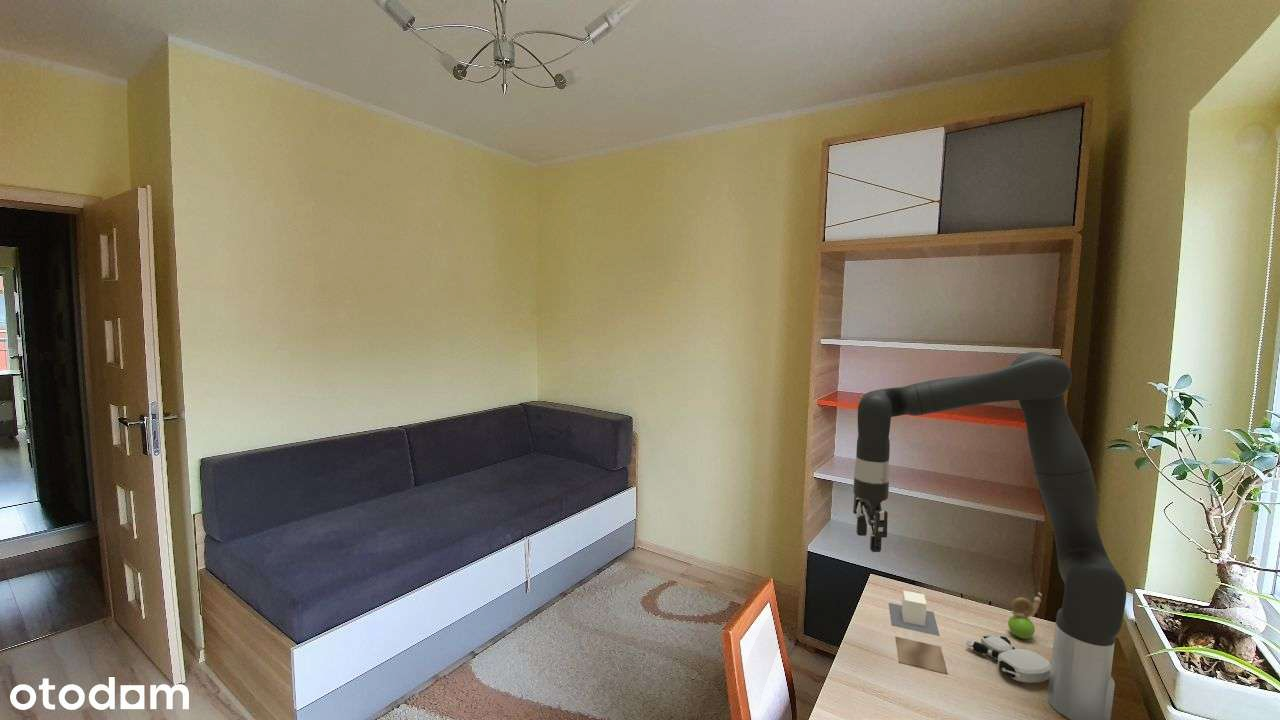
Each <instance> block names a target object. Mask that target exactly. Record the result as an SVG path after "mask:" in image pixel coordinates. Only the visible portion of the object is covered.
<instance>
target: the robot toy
mask: <svg viewBox="0 0 1280 720" xmlns="http://www.w3.org/2000/svg"><path fill="white" fill-rule="evenodd" d="M965 645H966V646H967V647H969V648H973V652H974V651H975V652H977V653H979V654H986V655H988V656H989V657H991V658H993V659H994V660H996V661H997V666H998V669H999V670H1000V671H1001V672H1003V673H1004V674H1005V675H1008V676H1009V677H1010V678H1011V679H1012V680H1015V681H1017V682H1021V683H1029V684H1031V683H1032V684H1033V683H1042V682H1045V681H1047V680H1049V678H1050V670H1051V661H1050V660H1048V659H1047V658H1045V657H1043V656H1041V655H1040V654H1038V653H1037V652H1035V651H1033V650H1029V649H1025V648H1023V649H1022V648H1015V647H1014V646H1012V643H1011V641H1010V639H1008V637H1006V636H1004V635H999V634H997V635H996V636H992V635H988V634H987V635H984V636H981V638H980V642H978V641H971V640H967V641H966V642H965Z"/></svg>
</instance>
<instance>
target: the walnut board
mask: <svg viewBox="0 0 1280 720" xmlns="http://www.w3.org/2000/svg"><path fill="white" fill-rule="evenodd" d="M894 637H895V644H896V645H895V646H896V651H897V653H896V654H897V659H898V664H902V665H906V666H910V667H913V668H917V669H922V670H926V671H931V672H935V673H939V674H943V675H945V676H946V675H947V676H948V675H949V672H948V669H947V666H946V662H945V661H946V660H945V659H944V654H943V650H942V647H941V645H935V644H931V643H927V642H921V641H918V640H914V639H910V638H904V637H902V636H901V637H899V636H897V635H895V636H894Z"/></svg>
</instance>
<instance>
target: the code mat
mask: <svg viewBox="0 0 1280 720" xmlns="http://www.w3.org/2000/svg"><path fill="white" fill-rule="evenodd" d="M888 609H889V615H890V624H891V626H892V627H897V628H901V629H906V630H910V631H914V632H919V633H924V634H929V635H933V636H937V637H940V636H941V635H940V632H939V627H938V624H937V620H936V617H935V613H934V611H930V610H926V619H925V626H921V625H917V624H912V623H907V622H903V617H902V604H901V605H900V604H896V603H890V602H888Z"/></svg>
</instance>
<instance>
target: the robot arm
mask: <svg viewBox="0 0 1280 720" xmlns="http://www.w3.org/2000/svg"><path fill="white" fill-rule="evenodd" d="M1072 380H1073V374H1072V371H1071V368H1070V367H1069V365H1068V364H1067V363H1066V362H1064V361H1063V359H1061V358H1058V357H1057V356H1055V355H1053V354H1049V353H1045V352H1040V351H1031V352H1030V351H1029V352H1026V353H1022V354H1021V355H1019V356H1018V357H1016V358H1015V359H1014V360H1013V362H1012V363H1011V364H1010V366H1007V367H1003V368H1001V369H997V370H993V371H989V372H984V373H979V374H972V375H962V376H955V377H954V376H953V377H944V378H937V379H932V380H927V381H922V382H916V383H912V384H909V385H906V386H905V385H904V386H898V387H897V386H896V387H889V388H882V389H881V388H880V389H875V390H871V391H869V392H867V393H865V394H864V395H862V397H861V398H860V400H859V402H858V405H857V439H856V456H855V462H854V471H853V472H854V473H853V474H854V475H853V495H854V496H853V497H854V498H853V510H852V513H853V514H854V515H855V519H856V535H858V536H861V537H866V536H867V535H868V527H869V533H870V540H869V550H870V551H871V552H872V553H880V552H881V551H882V539H884V538H886V539H887V537H888V517H889V516H888V515H889V513H888V511H887V510H882V502H884V501H886V500H887V499H888V498H889V489H890V487H889V485H890V472H891V471H890V469H891V468H890V454H891V453H890V451H891V449H890V448H891V446H890V445H891V442H890V431H891V421H892V418H893V417H894V418H895V417H899V416H905V415H906V416H907V415H909V416H913V417H915V416H916V417H917V416H923V415H929V414H934V413H940V412H945V411H950V410H954V409H961V408H965V407H966V408H967V407H970V406H971V407H972V406H977V405H983V404H989V403H991V404H992V403H998V402H999V403H1000V402H1010V401H1018V403H1019V406H1020V408H1021V411H1022V413H1023V416H1024V421H1025V425H1026V433H1027V441H1028V446H1029V451H1030V456H1031V461H1032V466H1033V470H1034V474H1035V479H1036V481H1037V486H1038V490H1039V492H1040V495H1041V499H1042V502H1043V504H1044V505H1043V506H1044V508H1045V509H1046V512H1047V514H1048V515H1047V516H1048V517H1049V519H1050V522H1051V524H1052V528H1053V533H1054V538H1055V539H1054V541H1055V546H1056V547H1055V548H1056V555H1057V556H1056V557H1057V565H1058V572H1059V574H1060V577H1061V579H1062V581H1063V583H1064V593H1063V598H1062V599H1063V600H1062V607H1060V608H1059V609H1058V610H1057V613H1056V619H1055V628H1054V636H1053V643H1052V644H1053V645H1052V653H1051V661H1050V662H1051V670H1050V678H1049V679H1048V687H1047V696H1046V697H1047V699H1046V700H1047V702H1048V703H1049V705H1050V706H1051V707H1052V708H1053V710H1055V711H1056V712H1058V713H1059V714H1060V715H1062V717H1063V716H1064V717H1066V718H1067V719H1069V720H1111V718H1112V717H1111V716H1112V709H1113V702H1114V694H1115V688H1116V687H1115V685H1116V682H1115V680H1114V678H1113V677H1112V676H1111V675H1112V670H1113V669H1112V668H1113V662H1114V661H1113V660H1114V650H1115V645H1116V638H1117V636H1118V634H1119V633H1120V631H1121V629H1122V624H1123V619H1124V613H1125V609H1126V603H1127V586H1126V583H1125V581H1124V578H1123V577H1122V576H1121V574H1120V573H1119V572H1118V570H1117V568H1116V567H1115V566H1114V565H1113V563H1112V561H1111V560H1110V558H1109V555H1108V554H1107V552H1106V549H1105V546H1104V544H1103V541H1102V537H1101V534H1100V532H1099V528H1098V522H1097V511H1098V509H1097V508H1098V492H1097V486H1096V482H1095V478H1094V473H1093V470H1092V465H1091V462H1090V459H1089V456H1088V454H1087V452H1086V450H1085V449H1086V448H1085V447H1084V445H1083V443H1082V441H1081V439H1080V437H1079V434H1078V433H1077V431H1076V429H1075V427H1074V426H1073V423H1072V421H1071V419H1070V417H1069V413H1068V410H1067V406H1066V400H1065V395H1064V393H1066V391H1068V389H1069V388H1070V387H1071V385H1072Z"/></svg>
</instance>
